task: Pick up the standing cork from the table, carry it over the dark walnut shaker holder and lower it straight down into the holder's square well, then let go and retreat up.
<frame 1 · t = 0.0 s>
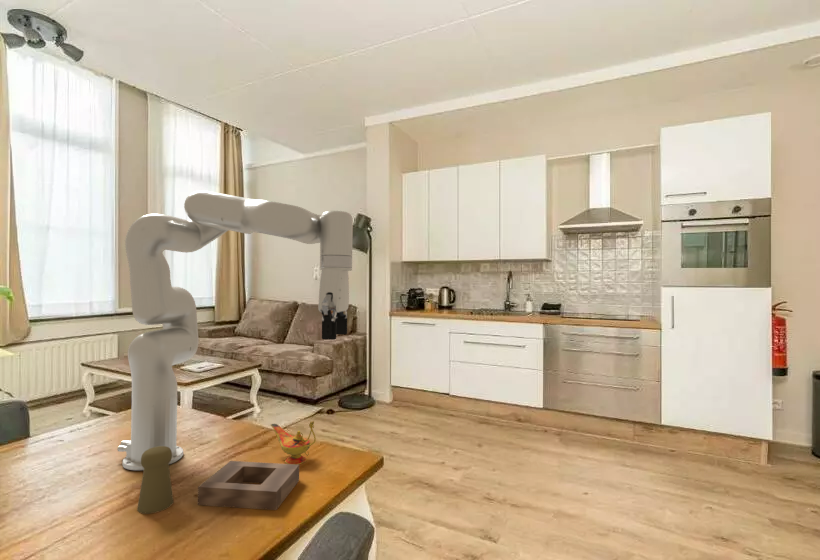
hand: (335, 336, 96), 31 cm above the table, tool pointing down, fingers open, 9 cm apart
magic lamp: (291, 459, 102), on the table
shaker holder: (251, 491, 85), on the table
cork: (155, 506, 80), on the table
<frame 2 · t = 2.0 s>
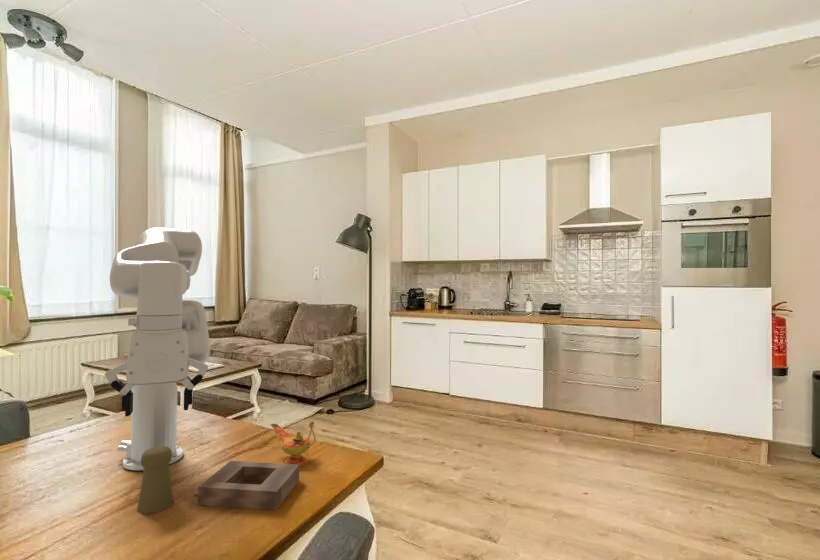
hand: (158, 411, 80), 18 cm above the table, tool pointing down, fingers open, 9 cm apart
nothing on the table moved.
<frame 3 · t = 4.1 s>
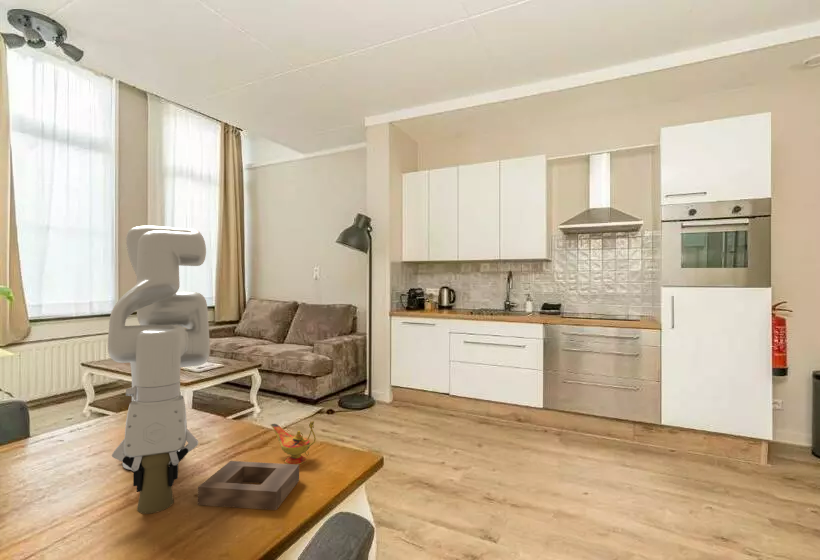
hand: (156, 485, 80), 4 cm above the table, tool pointing down, fingers closed on cork, 4 cm apart
cork: (155, 506, 80), on the table, touching gripper
everything else where it was.
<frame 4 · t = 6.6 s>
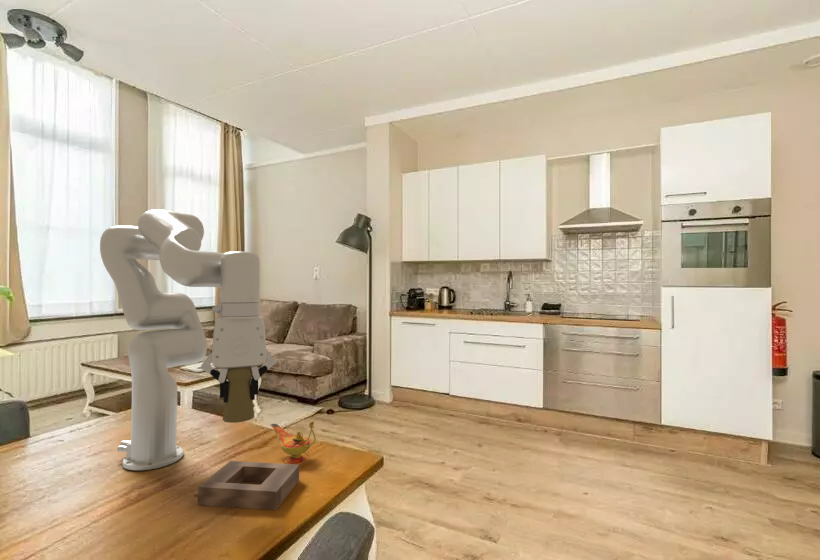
hand: (239, 398, 85), 20 cm above the table, tool pointing down, fingers closed on cork, 4 cm apart
cork: (238, 418, 84), point 16 cm above the table, touching gripper
everything else where it was.
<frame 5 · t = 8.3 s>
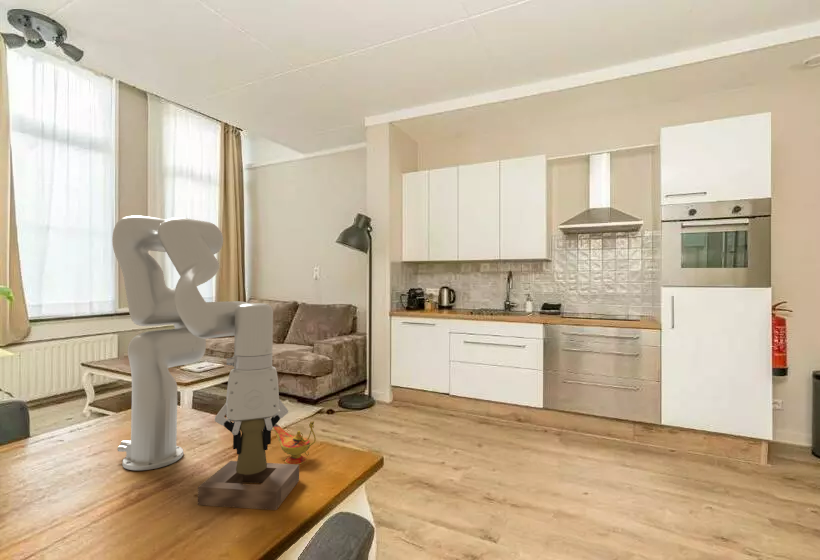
hand: (252, 448, 85), 9 cm above the table, tool pointing down, fingers closed on cork, 4 cm apart
cork: (251, 468, 85), point 5 cm above the table, touching gripper
everything else where it was.
when the fingers open (5 cm above the table, at t = 9.5 s): cork stays where it is, resting in shaker holder.
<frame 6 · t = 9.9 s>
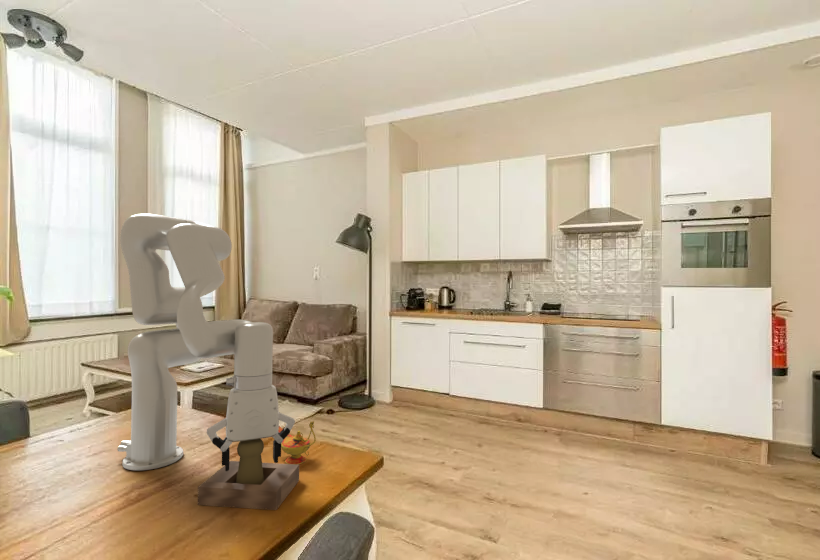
hand: (251, 464, 85), 6 cm above the table, tool pointing down, fingers open, 9 cm apart
cork: (249, 493, 85), resting in shaker holder
everything else where it was.
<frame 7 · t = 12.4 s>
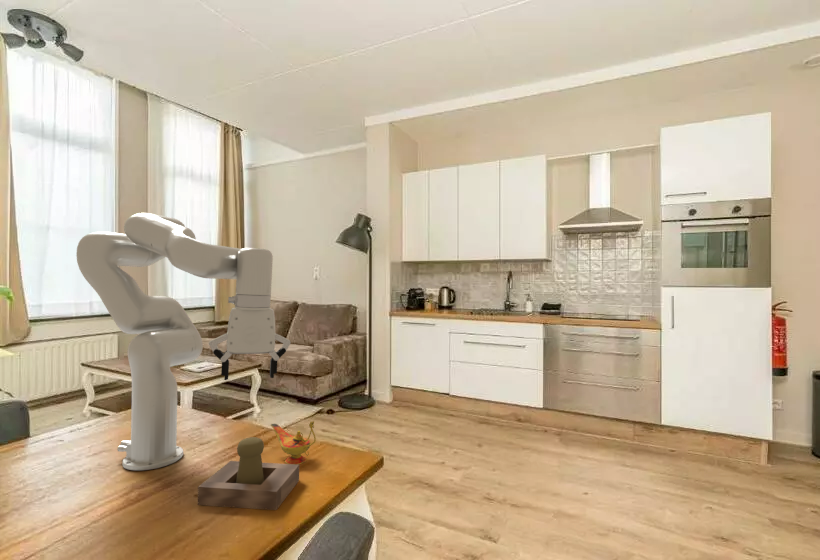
hand: (249, 377, 93), 22 cm above the table, tool pointing down, fingers open, 9 cm apart
nothing on the table moved.
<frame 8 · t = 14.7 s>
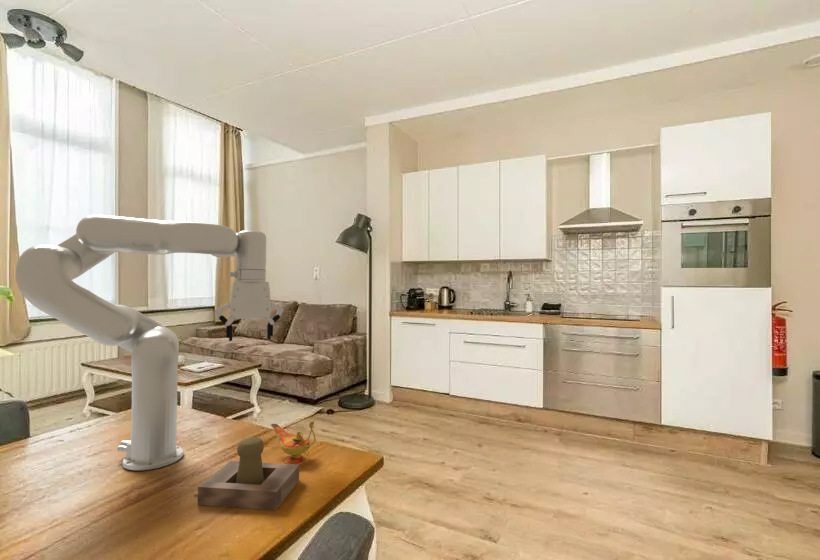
hand: (249, 339, 111), 28 cm above the table, tool pointing down, fingers open, 9 cm apart
nothing on the table moved.
at the end: cork 0.3 cm off-centre on the shaker holder, point 0.0 cm above the shaker holder's base; cork tilted 0°; the gripper is holding nothing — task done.
